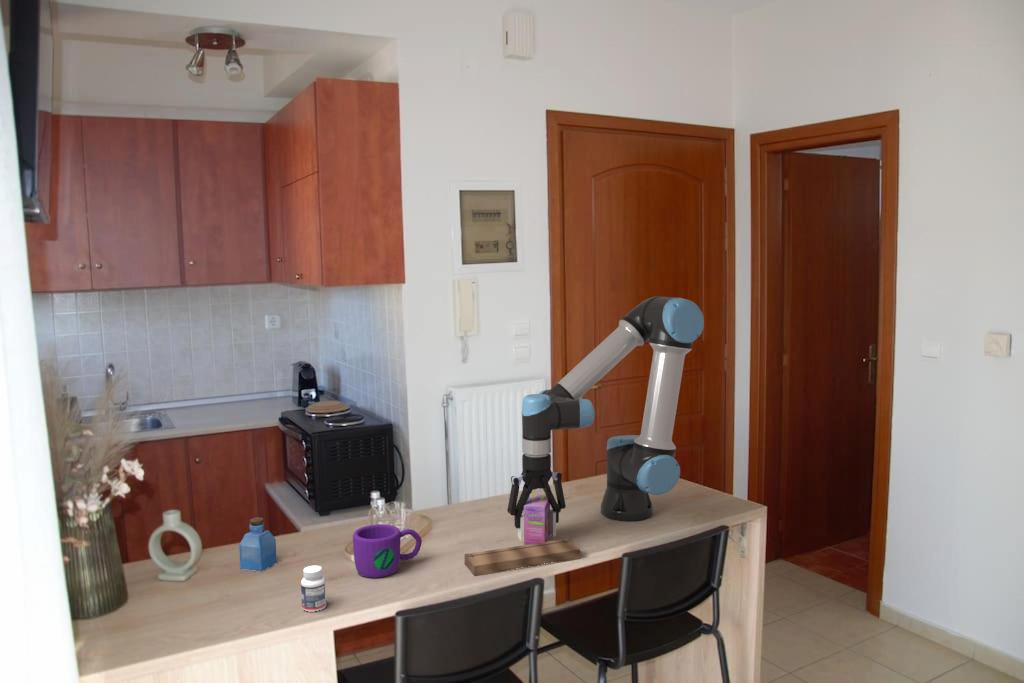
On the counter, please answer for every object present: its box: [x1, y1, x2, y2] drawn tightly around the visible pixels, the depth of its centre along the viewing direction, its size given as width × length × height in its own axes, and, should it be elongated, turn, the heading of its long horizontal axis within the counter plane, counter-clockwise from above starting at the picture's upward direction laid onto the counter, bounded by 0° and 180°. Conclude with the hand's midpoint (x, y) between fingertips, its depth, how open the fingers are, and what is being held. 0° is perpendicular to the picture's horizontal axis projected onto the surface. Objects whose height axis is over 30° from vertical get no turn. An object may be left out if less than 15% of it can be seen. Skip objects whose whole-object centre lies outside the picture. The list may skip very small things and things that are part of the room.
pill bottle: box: [300, 564, 327, 613], centre depth 175 cm, size 5×5×9 cm
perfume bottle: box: [238, 517, 278, 572], centre depth 198 cm, size 6×6×12 cm
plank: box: [463, 538, 581, 577], centre depth 200 cm, size 28×8×3 cm, turn 111°
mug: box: [352, 523, 423, 579], centre depth 196 cm, size 17×11×10 cm, turn 119°
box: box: [523, 493, 551, 545], centre depth 212 cm, size 10×6×12 cm, turn 169°
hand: (536, 537), depth 211 cm, fingers closed on box, 8 cm apart
